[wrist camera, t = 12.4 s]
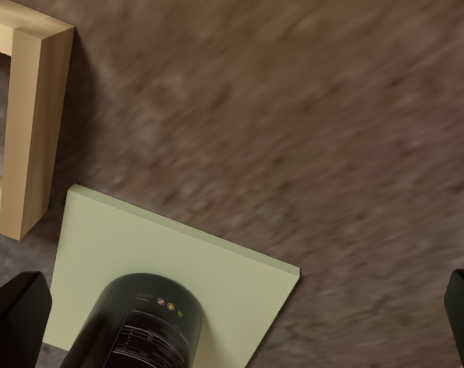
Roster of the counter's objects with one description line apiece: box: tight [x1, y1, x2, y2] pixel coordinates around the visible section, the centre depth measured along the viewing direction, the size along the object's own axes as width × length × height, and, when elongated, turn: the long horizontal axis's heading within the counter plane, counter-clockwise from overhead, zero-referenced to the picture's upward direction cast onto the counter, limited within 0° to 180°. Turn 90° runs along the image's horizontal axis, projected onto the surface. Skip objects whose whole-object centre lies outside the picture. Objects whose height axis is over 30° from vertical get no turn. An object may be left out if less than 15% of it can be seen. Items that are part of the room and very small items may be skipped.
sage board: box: [42, 183, 300, 368], centre depth 28 cm, size 14×14×1 cm
